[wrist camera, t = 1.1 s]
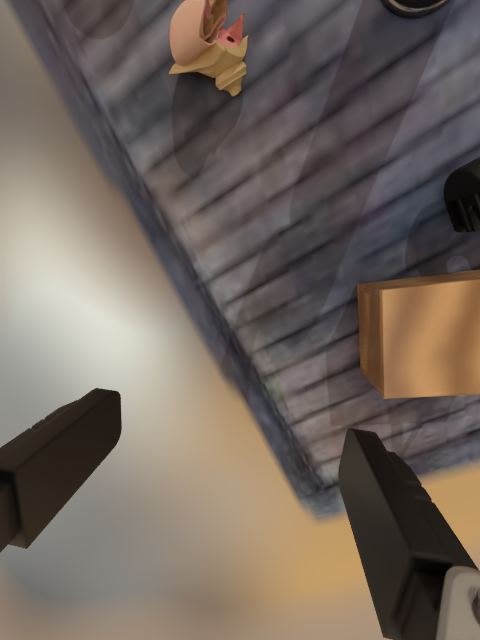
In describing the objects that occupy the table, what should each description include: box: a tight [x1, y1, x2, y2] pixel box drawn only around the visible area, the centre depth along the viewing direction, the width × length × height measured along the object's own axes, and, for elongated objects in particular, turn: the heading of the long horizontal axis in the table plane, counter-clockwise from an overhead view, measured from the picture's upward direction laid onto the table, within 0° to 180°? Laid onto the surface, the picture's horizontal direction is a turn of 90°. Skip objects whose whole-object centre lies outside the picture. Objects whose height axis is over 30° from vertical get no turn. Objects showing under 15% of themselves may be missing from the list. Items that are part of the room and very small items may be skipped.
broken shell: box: [169, 0, 248, 96], centre depth 28 cm, size 9×10×10 cm
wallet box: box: [357, 269, 480, 394], centre depth 30 cm, size 16×13×7 cm
